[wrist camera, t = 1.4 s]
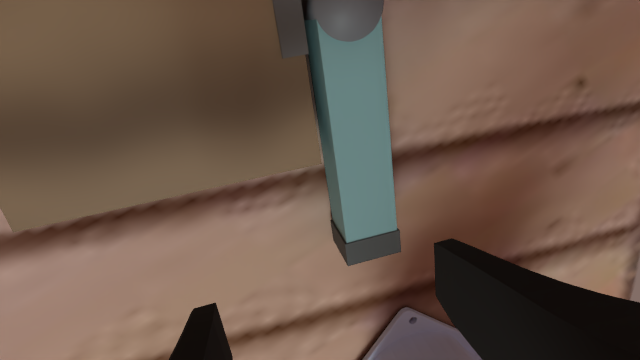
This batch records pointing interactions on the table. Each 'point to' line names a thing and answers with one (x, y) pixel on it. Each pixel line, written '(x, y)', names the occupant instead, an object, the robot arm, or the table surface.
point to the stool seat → (146, 101)
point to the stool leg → (353, 124)
